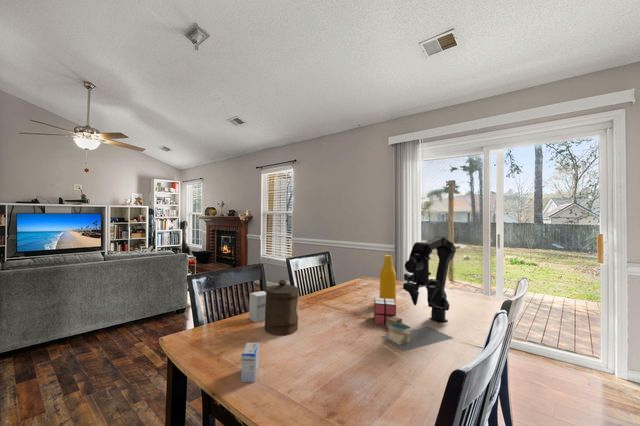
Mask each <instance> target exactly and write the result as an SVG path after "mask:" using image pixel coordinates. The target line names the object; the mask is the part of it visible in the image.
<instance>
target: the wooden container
mask: <svg viewBox="0 0 640 426" xmlns="http://www.w3.org/2000/svg"><path fill="white" fill-rule="evenodd" d="M265 292H266V306H265V320H264V331H265V333H268V334H270V335H273V336H288V335H291V334H294V333H295V332H297V331H298V326H299V287H298V286H295V285H291V284H287V280H285V279H280V280H279V281H278V284H274V285H271V286H268V287H266V290H265Z"/></svg>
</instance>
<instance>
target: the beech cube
mask: <svg viewBox="0 0 640 426" xmlns="http://www.w3.org/2000/svg"><path fill="white" fill-rule="evenodd" d="M410 330H411V326H409V325H407V324H405V323H403V322H402V323H401V322H397V323H392V324H389V329H388V335H389V339H390V340H392V341H393V342H395V343H397V344H398V345H399V344H403V343H407V342H410Z"/></svg>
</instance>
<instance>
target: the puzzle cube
mask: <svg viewBox="0 0 640 426" xmlns="http://www.w3.org/2000/svg"><path fill="white" fill-rule="evenodd" d="M373 299H374V301H373V304H374V306H373V323H374V324H375V325H376V324H377V325H386V318H387V317H390V316H396V317H397V303H396V304H395V300H394V299H384V298H380V297H375V298H373Z"/></svg>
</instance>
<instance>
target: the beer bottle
mask: <svg viewBox="0 0 640 426" xmlns="http://www.w3.org/2000/svg"><path fill="white" fill-rule="evenodd" d="M393 263H394V262H393V255H390V254H385V255H384V258H383V265H382V268H381V270H380V272H379V298H384V299H394V300H395V304H396V305H397V294H396V293H397V292H396V291H397V274H396V273H397V272H396V271H395V270H396V269H395V268H394V265H393Z"/></svg>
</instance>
